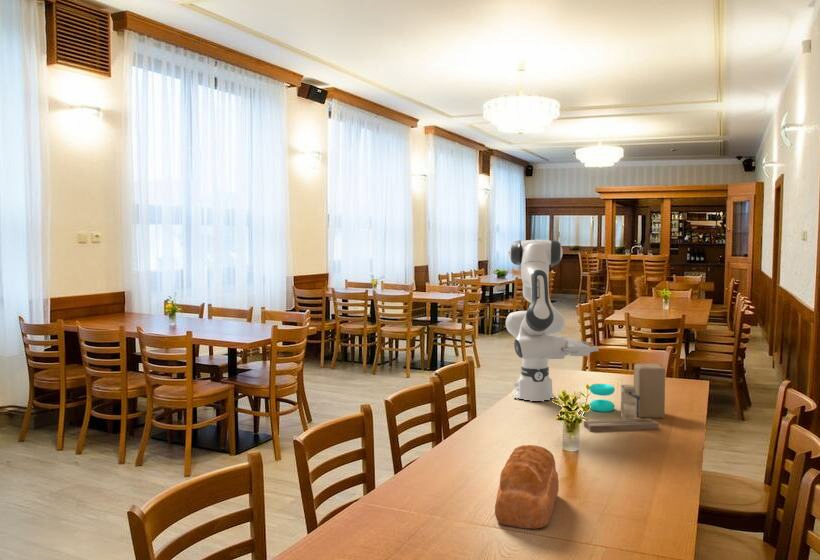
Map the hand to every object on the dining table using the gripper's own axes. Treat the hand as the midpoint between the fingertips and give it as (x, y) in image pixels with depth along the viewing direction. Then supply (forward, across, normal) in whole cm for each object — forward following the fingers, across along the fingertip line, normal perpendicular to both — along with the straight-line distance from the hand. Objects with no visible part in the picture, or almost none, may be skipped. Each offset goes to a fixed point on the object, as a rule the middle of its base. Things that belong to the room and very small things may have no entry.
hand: (593, 346), depth 256 cm
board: (+8, -8, +30) cm, 32 cm away
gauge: (+14, -4, +30) cm, 33 cm away
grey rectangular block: (+26, +8, +30) cm, 40 cm away
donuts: (+11, +19, +30) cm, 37 cm away
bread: (-46, -77, +29) cm, 94 cm away
